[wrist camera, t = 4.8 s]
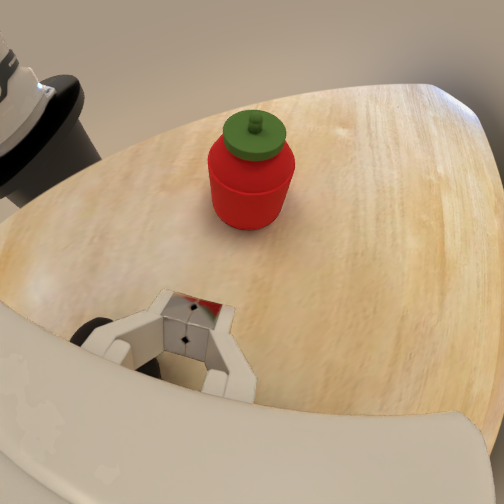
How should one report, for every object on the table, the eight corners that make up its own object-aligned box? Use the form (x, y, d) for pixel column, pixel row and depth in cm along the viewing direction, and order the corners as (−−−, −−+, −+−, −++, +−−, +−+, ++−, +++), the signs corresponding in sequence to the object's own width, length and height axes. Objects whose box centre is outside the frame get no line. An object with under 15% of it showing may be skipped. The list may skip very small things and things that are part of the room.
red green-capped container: (198, 199, 23) (181, 116, 14) (246, 159, 24) (253, 74, 15) (249, 244, 22) (261, 173, 13) (296, 198, 23) (328, 119, 14)
